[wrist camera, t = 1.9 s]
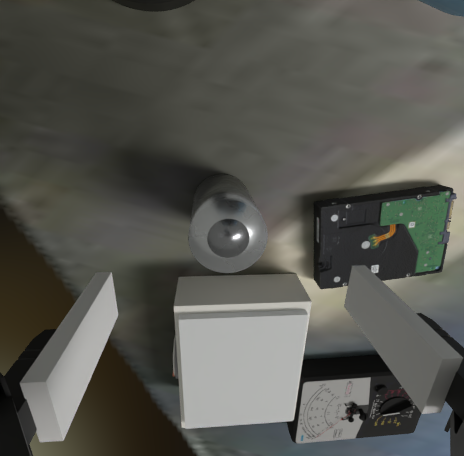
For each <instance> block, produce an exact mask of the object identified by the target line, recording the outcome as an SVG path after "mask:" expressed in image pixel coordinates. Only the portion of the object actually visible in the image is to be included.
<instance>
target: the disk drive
mask: <svg viewBox="0 0 464 456" xmlns="http://www.w3.org/2000/svg"><path fill="white" fill-rule="evenodd" d="M456 198H457V197H456V194H455V193H453V188H450V187H446V186H442V185H438V186H431V187H419V188H415V189H408V190H400V191H392V192H385V193H377V194H369V195H363V196H355V197H347V198H336V199H328V200H324V201H316V202H314V280H315V281H316V283H317V285H318V286H319V287H320V289H327V288H337V287H343V286H348V284H349V279H350V274H351V269H352V266H359V265H365V266H366V267H367V268H368V269H370V270H371V271H372V272H373V273H374V274H375V275H376V276H377V277H378V278H379V279H380V280H381V281H385V280H391V279H399V278H405V277H412V276H421V275H426V274H433V273H439V272H442V269H443V264H444V259H445V254H446V249H447V243H448V241H449V236H450V232H447V229H449V225H450V222H451V221H450V220H449V219H451V215H452V209H453V203H454V201H452V200H453V199H456Z"/></svg>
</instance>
